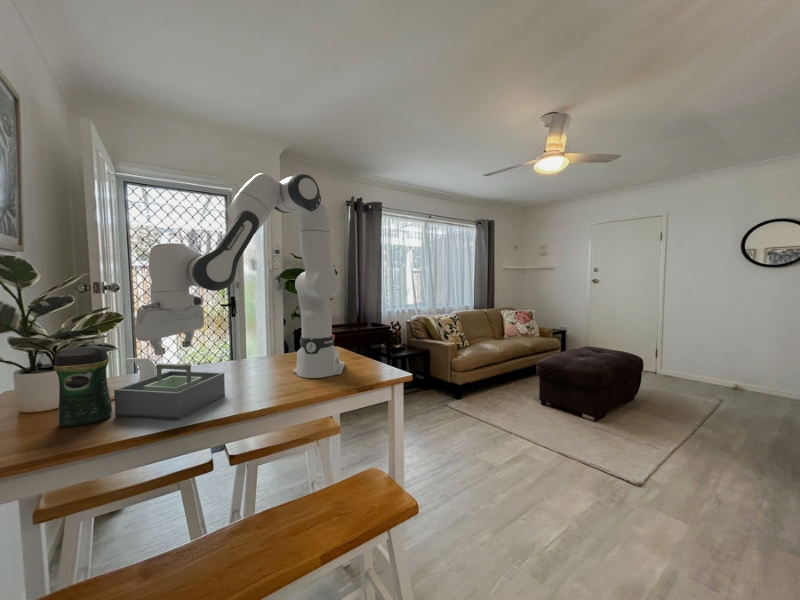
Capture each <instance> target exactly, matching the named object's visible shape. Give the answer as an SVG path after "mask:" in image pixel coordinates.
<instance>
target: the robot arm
mask: <svg viewBox="0 0 800 600" xmlns="http://www.w3.org/2000/svg"><path fill="white" fill-rule="evenodd" d="M320 193H321V191H320V189H319V186H318V183H317V181H316V179H315V178H314V177H312V176H311V175H309V174H305V173H298V174H297V173H296V174H295V175H292V176H288V177H286V178H284V179H282V180H281V181H277V180H276V179H274V177H272V176H271V175H269V174H265V173H257V174H255V175H254V176H253V177H252V178H250V179H249V180H248V181H247V182H246V183H245V184H244V185H243V186H242V187H241V188H240V190H239V191H238V192H237V193H236V195H235V196H234V197H233V199H232V201H231V202H230V205H229V207H228V209H227V215H228V219H229V220H230V226H229V227H228V229H227V231H226V233H225V234H224V236H223V237H222V239H221V240H220V242H219V243H218V245H217V246H216V248H214V250H212V251H210V252H208V253H207V254H204V253H201V252H199V251H196V250H194V249H192V248H190V247H188V246H187V245H185V244H184V243H183V242H175V241H173V242H163V243H158V244H156V245H154V246H152V247H151V248H150V250H149V255H148V274H149V277H150V281H151V286H150V287H151V288H150V301H151V302H150V303H144V304H141V306H140V307H138V309H137V310H136V318H135V325H134V326H135V327H134V332H135V333H134V336H135V339H136V340H138V341H141V342H149V343H150V345H151V346H152V348H153V349H154V355H155V356H162V355H165V354H166V347H163V346H162V344H161V343H162V341H163V340H162V339H163V338H168V337H172V336H176V335H180V334H184V335H185V336H184V340H181V342H182V348H190V347H192V345H193V344H192V340H193V339H194V335H195V331H197V330H202V329H203V328H204V325H205V315H204V314H205V312H204V308H203V307H202V305H203V304H204V299H203V298H202V297H200V296H196V295H194V294H191V293H190V287H197V288H200V289H205V290H208V291H211V292H212V291H214V292H217V291H222V290H225V289H227V288H229V287H230V286H231V285H232V283H233V282H234V280H235V278H236V275H237V269H238V263H239V261H240V259H241V257H242V255H243V254H244V252H245V251H246V249H247V247H248V246H249V244H250V242H251V241H252V239H253V237H254V235H256V233H257V231H259V229H260V228H261V227H262V226H263V225H264V223H265V222H267V220H268V219H269V217H270V216H271V214H272V212H273V211H274V210H275V211H278V212H279V213H285V214H287V213H288V214H290V213H293V212H295V214H296V215H297V218H298V220H299V254H300V256H301V258H302V260H303V267H304V271H303V272H301V273H300V274H299V275H298V276H297V277H296V279H295V282H294V286H295V287H294V288H295V290H296V292H297V299H298V305H299V310H300V316H301V317H300V319H301V320H300V321H301V336H300V338H299V339H300V340H299V343H300V344H299V345H300V348H299V349H298V350H297V352H296V367H295V368H294V369H293V370H292V373H294V374H297V376H298V377H300V378H306V379H320V378H328V377H331V376H332V377H333V376H336V375H337V376H338V375H341V374H343V371H344V369H345V364H346V363H345V362H344V361H341V360H340V352H339V350H338V349H337V348H336V346H335V342H334V340H335V339H336V338H335V337H336V336H335V334H332V333H333V327H332V325H333V321H332V320H333V317H332V313H331V311H330V308H329V305H328V300H330V299H333V298H334V297H335V296H337V294H338V293H339V292H340V288H341V282H340V279H339V278H338V275H337V274H336V270H335V266H334V262H333V258H332V257H333V255H332V243H331V241H332V240H331V222H330V216H329V211H328V207H327V206H326V205H325V204H324V203H322V201H321V200H322V197H321V194H320Z"/></svg>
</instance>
